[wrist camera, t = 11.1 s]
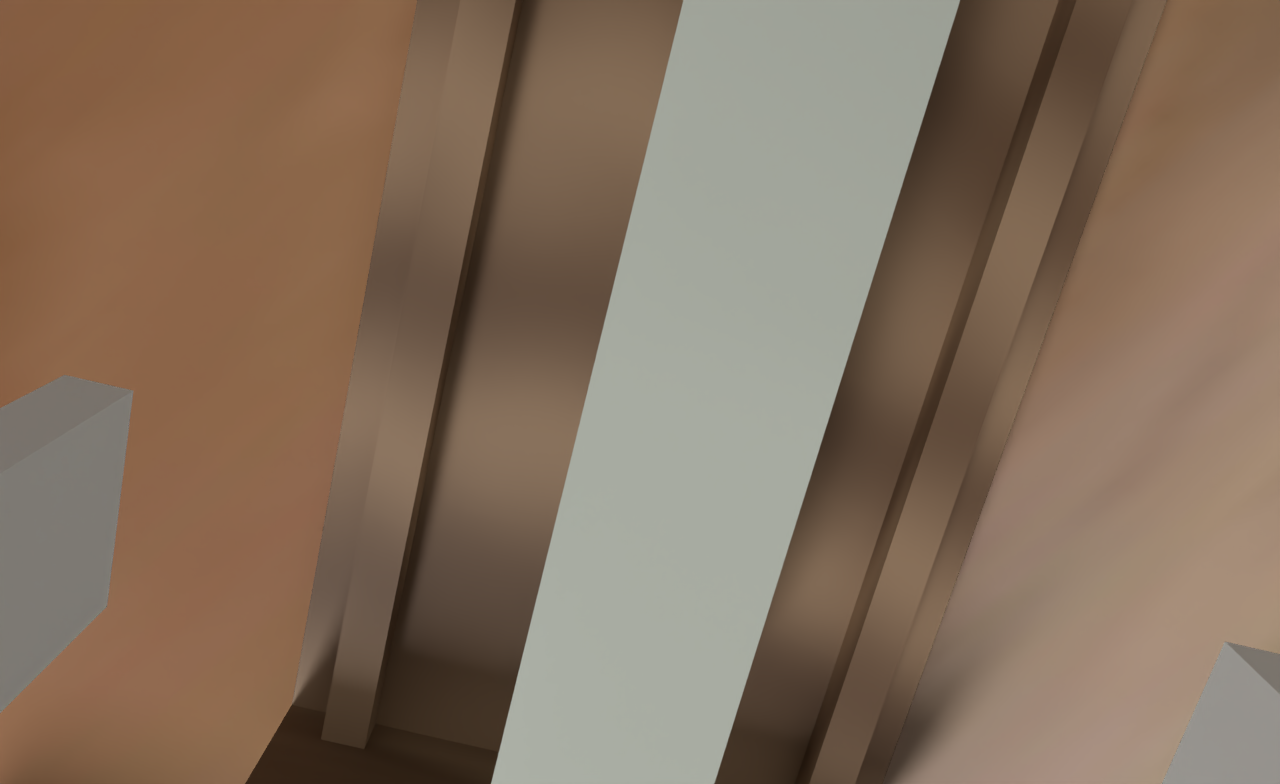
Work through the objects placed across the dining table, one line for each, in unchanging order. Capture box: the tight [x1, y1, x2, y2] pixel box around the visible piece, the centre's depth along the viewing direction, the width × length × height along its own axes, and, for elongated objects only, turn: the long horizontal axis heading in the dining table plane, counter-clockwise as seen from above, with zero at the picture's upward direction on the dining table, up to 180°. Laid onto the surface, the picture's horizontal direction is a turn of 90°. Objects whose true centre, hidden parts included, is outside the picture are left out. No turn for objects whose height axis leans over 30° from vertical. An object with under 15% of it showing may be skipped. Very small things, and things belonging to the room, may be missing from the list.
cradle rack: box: [245, 0, 1167, 784], centre depth 22 cm, size 24×14×4 cm, turn 166°
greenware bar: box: [491, 0, 960, 784], centre depth 21 cm, size 4×16×5 cm, turn 166°
